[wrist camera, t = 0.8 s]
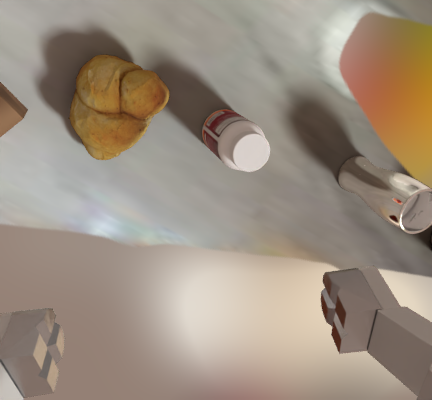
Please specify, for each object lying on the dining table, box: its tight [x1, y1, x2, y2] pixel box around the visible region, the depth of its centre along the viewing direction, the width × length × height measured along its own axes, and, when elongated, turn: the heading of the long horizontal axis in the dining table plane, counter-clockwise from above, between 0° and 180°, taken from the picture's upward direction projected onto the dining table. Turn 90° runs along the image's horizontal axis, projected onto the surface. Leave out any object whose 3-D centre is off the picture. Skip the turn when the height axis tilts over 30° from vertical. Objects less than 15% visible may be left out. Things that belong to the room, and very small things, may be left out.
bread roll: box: [69, 55, 170, 160], centre depth 48 cm, size 13×10×8 cm
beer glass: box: [338, 156, 432, 234], centre depth 60 cm, size 7×7×15 cm
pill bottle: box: [202, 109, 270, 172], centre depth 52 cm, size 6×6×11 cm
